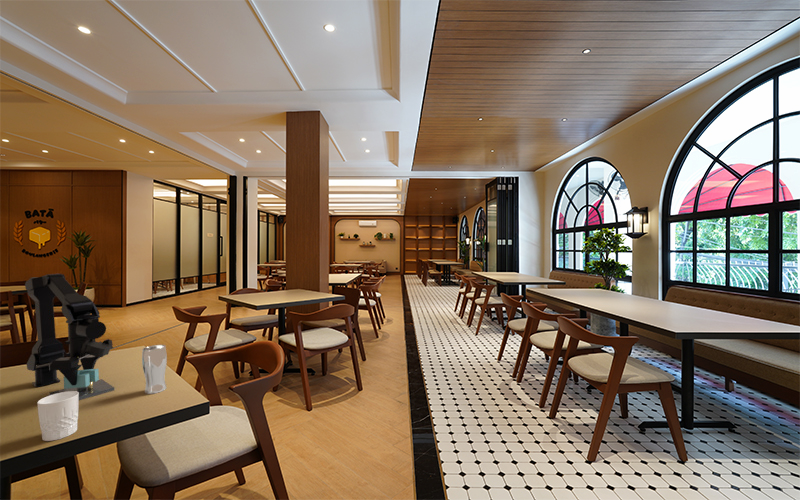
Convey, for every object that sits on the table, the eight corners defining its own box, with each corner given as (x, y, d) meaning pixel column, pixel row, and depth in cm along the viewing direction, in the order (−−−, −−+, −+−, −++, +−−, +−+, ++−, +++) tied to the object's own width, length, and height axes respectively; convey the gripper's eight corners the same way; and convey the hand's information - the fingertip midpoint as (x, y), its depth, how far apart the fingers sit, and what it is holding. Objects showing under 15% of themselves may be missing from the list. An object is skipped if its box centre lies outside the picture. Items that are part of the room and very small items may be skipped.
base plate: (49, 395, 118) (48, 381, 118) (101, 381, 130) (101, 368, 130) (59, 405, 110) (58, 390, 110) (114, 390, 122) (113, 375, 121)
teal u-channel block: (64, 388, 116) (63, 376, 116) (78, 381, 123) (77, 370, 123) (85, 387, 117) (85, 375, 117) (98, 379, 124) (98, 368, 124)
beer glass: (172, 386, 124) (171, 344, 123) (157, 394, 117) (155, 350, 116) (154, 386, 124) (152, 344, 124) (137, 394, 117) (136, 350, 117)
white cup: (87, 429, 95) (85, 392, 95) (50, 444, 88) (48, 405, 88) (68, 424, 98) (67, 389, 98) (31, 440, 91) (30, 401, 90)
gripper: (86, 342, 112) (88, 390, 112) (122, 328, 130) (124, 369, 130) (46, 344, 110) (48, 393, 110) (89, 330, 128) (90, 372, 129)
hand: (81, 381), depth 120 cm, fingers closed on teal u-channel block, 6 cm apart
